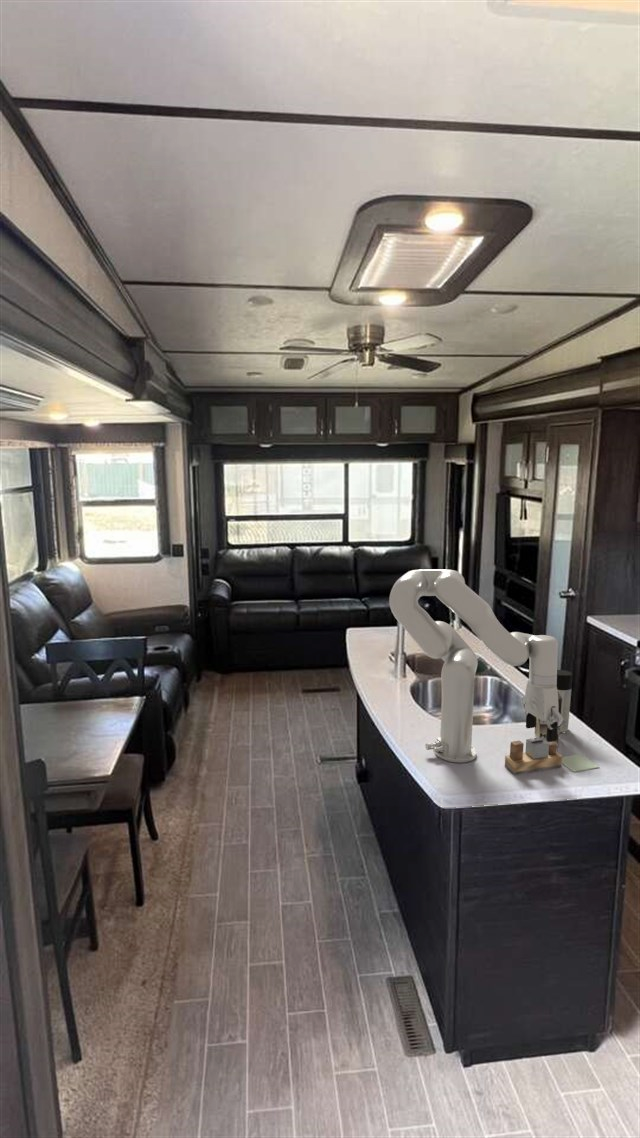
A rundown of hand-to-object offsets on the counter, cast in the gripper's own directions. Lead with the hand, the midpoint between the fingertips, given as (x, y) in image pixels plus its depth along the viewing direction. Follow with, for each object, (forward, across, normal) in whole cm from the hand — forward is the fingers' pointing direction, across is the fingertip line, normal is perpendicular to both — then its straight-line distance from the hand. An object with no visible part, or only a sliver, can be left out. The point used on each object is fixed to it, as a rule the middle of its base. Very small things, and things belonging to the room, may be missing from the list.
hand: (541, 734), depth 178 cm
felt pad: (+11, +1, +12) cm, 16 cm away
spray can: (+11, -21, +22) cm, 32 cm away
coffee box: (+11, -15, +13) cm, 22 cm away
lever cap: (+7, -1, -1) cm, 7 cm away
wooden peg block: (+10, -1, -2) cm, 11 cm away
